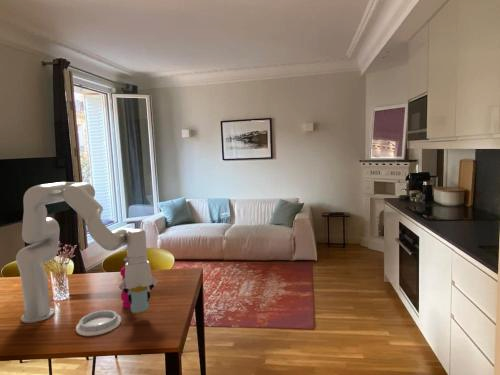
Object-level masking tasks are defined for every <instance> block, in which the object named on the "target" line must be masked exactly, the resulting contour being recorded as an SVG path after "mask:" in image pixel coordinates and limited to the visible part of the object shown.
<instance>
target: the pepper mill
mask: <svg viewBox="0 0 500 375" xmlns="http://www.w3.org/2000/svg"><path fill="white" fill-rule="evenodd" d="M126 263H127V262H125V263H124V266H123V267H121V269H120V275H121V279H122V280H121V282H123V281H124V279H125V269H126ZM124 287H126V284H125V285H124ZM121 291H122V292H121V295H120V299H121V300H122V307H123V308H125V309H131V303H130V302H129V300H128V294H127V293H125V292H124V291H123V290H121Z"/></svg>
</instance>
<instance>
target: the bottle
mask: <svg viewBox="0 0 500 375" xmlns="http://www.w3.org/2000/svg"><path fill="white" fill-rule="evenodd" d="M135 281H136V284H138V285H136V286H137V287H136V288H134V289H131V298H132V304H131V308H130V312H131V314H133V315H136V316H137V315H138V316H139V315H143V314H146V313H148V311H149V310H150V309H149V308H150V307H149V301H148V300H147V292H148V291H147V287H142V278H140V279H135Z"/></svg>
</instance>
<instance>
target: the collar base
mask: <svg viewBox="0 0 500 375" xmlns="http://www.w3.org/2000/svg"><path fill="white" fill-rule="evenodd" d="M121 323H122V317H121V315H120V314H118V313H117V311H115V310H110V309H105V310H104V309H103V310H97V311H93V312H90V313H89V314H86V315H84V316H83V317H82V318H80V319H79V321H78V323H77V324H76V326H75V331H76V333H77V334H78V335H79V336H82V337H83V336H84V337H94V336H99V335H102V334H106V333H109V332H111V331H113V330H115V329H116V328H117V329H118V327H119V326H120V325H121Z"/></svg>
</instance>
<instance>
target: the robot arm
mask: <svg viewBox="0 0 500 375" xmlns="http://www.w3.org/2000/svg"><path fill="white" fill-rule="evenodd" d="M95 196H96V190H95V188H94V187H93V185H92V184H90V183H89V182H85V181H83V182H81V181H79V182H75V181H59V182H58V181H57V182H51V183H42V184H36V185H34V186H31V187H29V188H28V189H27V190H26V191H25V192H24V195H23V198H22V199H23V201H22V202H23V216H22V228H21V229H22V230H21V237H22V240H23V241H24V243H27V244H29V245H27V246H25V247H23V248H21V249H20V250H18V252H17V254H16V256H15V263H16V265H17V268H18V270H19V275H20V282H21V290H22V298H23V307H22V310H23V311H24V313H23V315H22V316H20V321H21V323H27V324H29V323H30V324H34V323H38V322H43V321H44V320H48V319H49V318H51V317H52V316H54V315H55V312H56V310H55V309H54V307H51V302H50V292H49V281H48V275H47V271H46V270H45V268H44V266H43V264H46V263H47V262H51V261H52V260H53V259H55V257H56V256H57V254H58V251H59V243H60V229H61V228H60V225H59V222H58V220H56V219H55V218H54V217H50V216H48V209H47V208H46V205H50V204H56V203H61V202H65V203H66V204H68V205H69V207H71V208H72V209H73V210H74V211H75V212H76V213H77V215H79V216H80V217H81V218H82V219H83V220H84V221H85V223H86V228H87V230H88V233H89V236H90V238H92V240H94V241H95V243H97V244H98V246H100V247H101V248H102V249H104V250H106V251H107V252H113V251H117V250H118V249H120V248H122V247H124V246H126V252H127V255H126V256H125V257H124V258H123V262H125V263H126V269H125V279H124V281H121V283H120V284H119V286H118V288H119V289H120V290H121V291H124V292H125V293H127V294H128V300H129V302H130V303H131V304H132V298H131V289H134V288H136V287H137V286H136V285H138V284H136V281H135V279H140V278H142V287H147V291H148V292H147V300H148V302H149V299H151V291H152V289H154V287H155V286H157V284H158V281H159V280H157V279H156V278H155V277H154V276H152V270H151V265H150V261H149V260H148V254H147V253H148V252H147V233H146V231H145V229H144V228H129V227H121V226H120V227H118V228H115V229H113V230H111V229H109V228H108V227H107V226H106V225H105V224H104V223H103V220H102V218H101V216H102V213H103V211H104V208H103V206H102V204H100V203H99V202H98V201H97V200H96V199H95ZM125 284H126V287H124V285H125Z"/></svg>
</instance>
